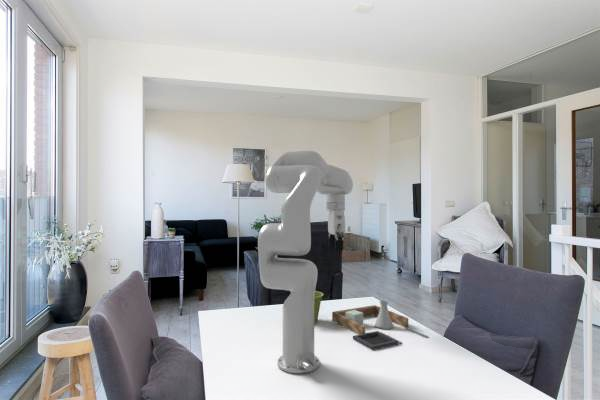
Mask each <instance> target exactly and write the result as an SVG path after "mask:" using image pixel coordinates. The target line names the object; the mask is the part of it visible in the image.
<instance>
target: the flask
mask: <svg viewBox="0 0 600 400" xmlns="http://www.w3.org/2000/svg"><path fill="white" fill-rule="evenodd" d="M388 303H389V300H383V299H381V300H379V304H380V306H379V307H380V311H379V314H378V315H377V318H376V320H375V323H374V328H377V329H380V330H381V329H382V330H390V329H394V328H393V327H394V324H393V322H392V321H391V318H390V315H389V312H388V310H389V308H388Z"/></svg>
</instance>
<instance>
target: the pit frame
mask: <svg viewBox="0 0 600 400" xmlns="http://www.w3.org/2000/svg"><path fill="white" fill-rule="evenodd" d="M381 332H382V331H379V330H375V331H370V332H365V334H360V335H358V334H355V335H352V340H353V341H355V342H357V343H359V344H361V345H362V346H364V347H366V348H368V349H369V350H371V351H376V350H380V349H383V348H389V347H393V346H397V345H399V343H398V341H399V340H398V339H396V338H394V337H392V336H390V335H388V336H387V334H386V333H384V332H382V333H381ZM383 333H384V334H383ZM385 334H386V335H385ZM389 336H390V337H389ZM391 337H392V338H391ZM393 338H394V339H393ZM395 339H396V340H395ZM397 340H398V341H397Z"/></svg>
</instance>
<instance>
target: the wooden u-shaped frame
mask: <svg viewBox="0 0 600 400" xmlns="http://www.w3.org/2000/svg"><path fill="white" fill-rule="evenodd" d="M352 310H356V311H359V312H362V313H363V318H364V317H369V316H370V317H371V316H378V314H379V311H380V306H378V305H376V304H374V305H368V306H367V305H366V306H362V307H355V308H347V309H342V310H335V311H332V312H331V319H332V320H331V321H333V322H334V323H336V324H338V325H340V326H342V327H344V328H346V329H347V330H349V331H351V332H353V333H355V334H356V335H360V334H365V333H366V326H365V325H364V324H363V325H361V324H359V323H357V322H355V321H353V320H351V319H349V318H347V317H345V312H348V311H352ZM388 312H389V315H390V318H391V321H392V323H395V324H396V325H398V326H400V327H403V328H405V327H408V328H409V318H408V317H406V316H404V315H401V314H399V313H396V312H394V311H391V310H389V309H388Z"/></svg>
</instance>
